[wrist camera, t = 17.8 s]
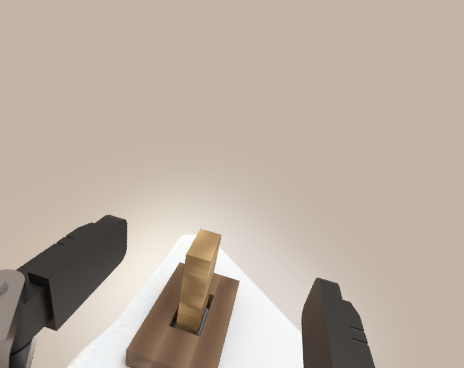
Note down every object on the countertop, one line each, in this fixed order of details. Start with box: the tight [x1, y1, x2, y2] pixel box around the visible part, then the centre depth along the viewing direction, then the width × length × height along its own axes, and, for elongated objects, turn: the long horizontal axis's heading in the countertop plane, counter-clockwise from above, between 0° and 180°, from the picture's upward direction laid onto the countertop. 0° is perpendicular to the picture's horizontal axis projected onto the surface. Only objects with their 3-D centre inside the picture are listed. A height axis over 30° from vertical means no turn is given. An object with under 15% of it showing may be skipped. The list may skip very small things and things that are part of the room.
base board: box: [126, 263, 240, 368], centre depth 37 cm, size 11×16×3 cm
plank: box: [176, 229, 221, 335], centre depth 35 cm, size 3×6×15 cm, turn 169°
